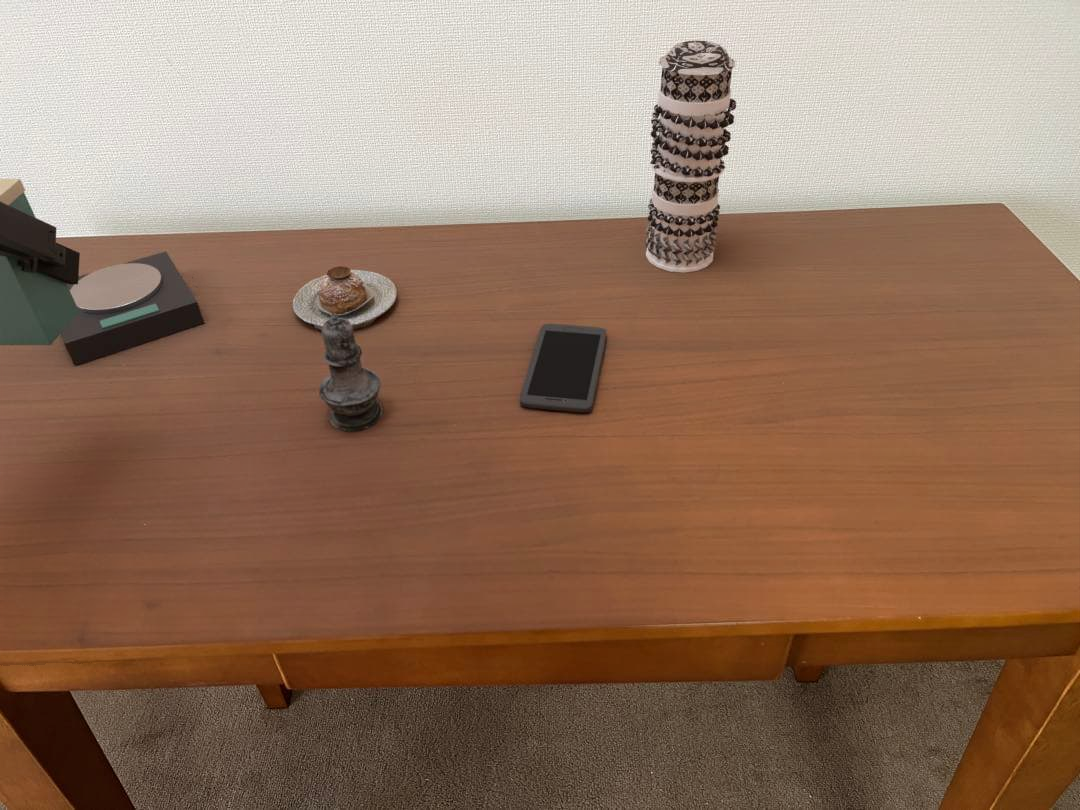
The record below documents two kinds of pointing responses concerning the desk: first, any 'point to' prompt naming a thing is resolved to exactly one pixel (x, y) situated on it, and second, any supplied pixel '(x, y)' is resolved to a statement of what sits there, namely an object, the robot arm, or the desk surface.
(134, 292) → the scale pan
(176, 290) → the scale
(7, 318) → the spice tin
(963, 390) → the desk surface
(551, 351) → the cell phone
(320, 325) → the pastry
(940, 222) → the desk surface
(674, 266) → the decorative candle
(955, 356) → the desk surface
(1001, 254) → the desk surface
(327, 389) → the dark grey piece
